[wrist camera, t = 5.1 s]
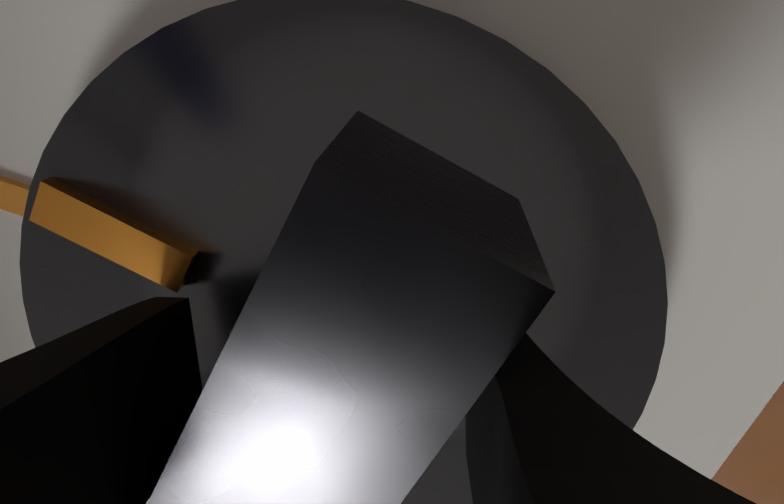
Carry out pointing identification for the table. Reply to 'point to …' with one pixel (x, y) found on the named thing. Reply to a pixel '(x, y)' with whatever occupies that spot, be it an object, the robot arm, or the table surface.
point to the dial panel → (611, 107)
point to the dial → (345, 240)
